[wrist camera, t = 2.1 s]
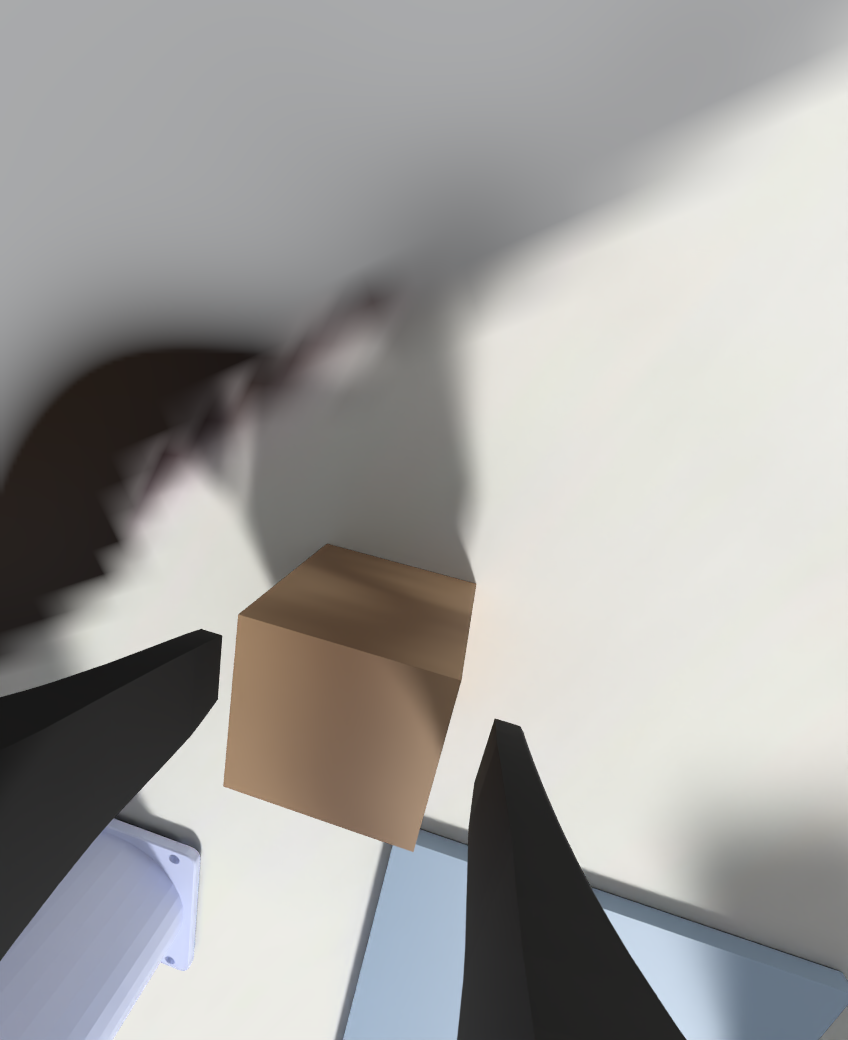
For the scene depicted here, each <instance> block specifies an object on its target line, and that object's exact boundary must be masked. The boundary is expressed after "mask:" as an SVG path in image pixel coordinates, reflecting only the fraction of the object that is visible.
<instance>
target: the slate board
mask: <svg viewBox="0 0 848 1040" xmlns="http://www.w3.org/2000/svg"><path fill="white" fill-rule="evenodd" d="M467 861H468V845H465V844H462V843H459V842H456V841H453V840H450V839H447V838H444V837H441V836H438V835H435V834H432V833H429V832H426V831H423V830H419V834H418V838H417V841H416V845H415V848H414V852H411V851H408V850H405V849H403V848H400V847H397V846H394V845H393V846H392V850H391V854H390V858H389V862H388V866H387V870H386V873H385V877H384V881H383V885H382V889H381V893H380V897H379V901H378V905H377V909H376V913H375V916H374V920H373V924H372V928H371V932H370V936H369V940H368V944H367V948H366V952H365V955H364V959H363V963H362V967H361V971H360V975H359V979H358V983H357V987H356V991H355V995H354V998H353V1002H352V1006H351V1010H350V1014H349V1018H348V1022H347V1026H346V1030H345V1034H344V1037H343V1040H457V1035H458V1025H459V1015H460V1005H461V995H462V986H463V974H464V957H465V931H466V896H467ZM591 888H592V887H591ZM592 890H593V892H594V894H595V895H596V897H597V899H598V901H599V902H600V904H601V906H602V908H603V910H604V911H605V913H606V915H607V917H608V918H609V920H610V922H611V924H612V925H613V927H614V929H615V930H616V932H617V934H618V935H619V937H620V939H621V940H622V942H623V944H624V945H625V947H626V949H627V950H628V952H629V954H630V955H631V957H632V958H633V960H634V961H635V963H636V964H637V966H638V967H639V969H640V971H641V972H642V974H643V975H644V977H645V978H646V980H647V981H648V983H649V984H650V986H651V987H652V989H653V990H654V992H655V993H656V995H657V996H658V998H659V1000H660V1001H661V1003H662V1004H663V1006H664V1007H665V1009H666V1010H667V1012H668V1013H669V1015H670V1016H671V1018H672V1019H673V1021H674V1022H675V1024H676V1025H677V1027H678V1028H679V1030H680V1031H681V1032H682V1034H683V1035H684V1037H685V1038H686V1039H687V1040H819V1039H820V1038H821V1036H822V1035H823V1034H824V1033H825V1032H826V1030H827V1029H828V1028H829V1027H830V1026H831V1024H832V1023H833V1022H834V1021H835V1020H836V1018H837V1017H838V1016H839V1015H840V1014H841V1012H842V1011H843V1010H844V1009H845V1008H846V1006H847V1005H848V981H847V980H846V978H845V976H844V975H843V973H842V972H840V971H837V970H834V969H831V968H828V967H825V966H822V965H819V964H816V963H813V962H810V961H807V960H804V959H801V958H798V957H795V956H792V955H789V954H786V953H783V952H780V951H778V950H775V949H772V948H769V947H766V946H763V945H760V944H757V943H754V942H751V941H748V940H745V939H742V938H739V937H736V936H733V935H730V934H727V933H724V932H721V931H718V930H716V929H713V928H710V927H707V926H704V925H701V924H698V923H695V922H692V921H689V920H686V919H683V918H680V917H677V916H674V915H671V914H668V913H665V912H662V911H659V910H657V909H654V908H651V907H648V906H645V905H642V904H639V903H636V902H633V901H630V900H627V899H624V898H621V897H618V896H615V895H612V894H609V893H606V892H603V891H600V890H597V889H595V888H592Z"/></svg>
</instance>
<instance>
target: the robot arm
mask: <svg viewBox="0 0 848 1040" xmlns="http://www.w3.org/2000/svg"><path fill="white" fill-rule="evenodd" d="M221 646H222V635H219V634H216V633H212V632H209V631H206V630H203V629H200V630H197V631H194V632H191V633H188V634H185V635H182V636H179V637H177V638H174V639H171V640H169V641H166V642H163V643H161V644H158V645H156V646H153V647H150V648H148V649H145V650H142V651H140V652H137V653H134V654H132V655H129V656H126V657H124V658H121V659H118V660H116V661H113V662H110V663H108V664H105V665H102V666H99V667H96V668H93V669H90V670H87V671H84V672H81V673H78V674H75V675H73V676H70V677H67V678H64V679H61V680H58V681H55V682H52V683H49V684H45V685H42V686H39V687H36V688H32V689H29V690H25V691H22V692H18V693H15V694H11V695H7V696H4V697H0V1040H113V1039H114V1037H115V1035H116V1034H117V1032H118V1031H119V1029H120V1027H121V1026H122V1024H123V1022H124V1021H125V1019H126V1018H127V1016H128V1014H129V1013H130V1011H131V1009H132V1008H133V1006H134V1004H135V1003H136V1001H137V1000H138V998H139V996H140V995H141V993H142V991H143V990H144V988H145V987H146V985H147V983H148V982H149V980H150V978H151V977H152V975H153V973H154V972H155V970H156V969H157V967H158V965H159V964H160V962H161V963H163V964H166V965H168V966H171V967H173V968H176V969H178V970H182V971H185V970H187V969H189V967H190V965H191V963H192V961H193V959H194V945H195V931H196V916H197V901H198V887H199V872H200V854H199V853H198V851H197V850H196V849H195V848H193V847H191V846H188V845H185V844H182V843H180V842H177V841H174V840H171V839H169V838H166V837H163V836H160V835H158V834H155V833H152V832H150V831H147V830H144V829H141V828H139V827H136V826H133V825H130V824H128V823H125V822H122V821H120V820H117V819H114V817H115V816H116V815H117V814H118V813H119V812H120V811H121V810H122V809H123V808H124V807H125V806H126V805H127V804H128V803H129V801H130V800H131V799H132V798H133V797H134V796H135V795H136V794H137V793H138V792H139V791H140V790H141V789H142V788H143V787H144V786H145V784H146V783H147V782H148V781H149V780H150V779H151V778H152V777H153V776H154V775H155V774H156V773H157V772H158V771H159V770H160V769H161V767H162V766H163V765H164V764H165V763H166V762H167V761H168V760H169V759H170V758H171V757H172V756H173V755H174V754H175V752H176V751H177V750H178V749H179V748H180V747H181V746H182V745H183V744H184V743H185V742H186V740H187V739H188V738H189V737H190V736H191V735H192V734H193V732H194V731H195V730H196V728H197V727H198V726H199V724H200V723H201V722H202V721H203V719H204V718H205V716H206V715H207V714H208V712H209V711H210V709H211V708H212V707H213V705H214V704H215V703H216V701H217V700H218V689H219V674H220V660H221ZM457 1040H687V1039H686V1038H685V1037H684V1035H683V1034H682V1032H681V1031H680V1030H679V1028H678V1027H677V1025H676V1024H675V1022H674V1021H673V1019H672V1018H671V1016H670V1015H669V1013H668V1012H667V1010H666V1009H665V1007H664V1006H663V1004H662V1003H661V1001H660V1000H659V998H658V996H657V995H656V993H655V992H654V990H653V989H652V987H651V986H650V984H649V983H648V981H647V980H646V978H645V977H644V975H643V974H642V972H641V971H640V969H639V967H638V966H637V964H636V963H635V961H634V960H633V958H632V957H631V955H630V954H629V952H628V950H627V949H626V947H625V945H624V944H623V942H622V940H621V939H620V937H619V935H618V934H617V932H616V930H615V929H614V927H613V925H612V924H611V922H610V920H609V918H608V917H607V915H606V913H605V911H604V910H603V908H602V906H601V904H600V902H599V901H598V899H597V897H596V895H595V894H594V892H593V890H592V888H591V886H590V884H589V882H588V881H587V879H586V877H585V875H584V873H583V871H582V869H581V867H580V865H579V863H578V861H577V859H576V857H575V855H574V853H573V851H572V849H571V847H570V845H569V843H568V841H567V839H566V837H565V835H564V833H563V830H562V828H561V826H560V824H559V822H558V819H557V817H556V815H555V813H554V810H553V808H552V806H551V803H550V801H549V799H548V796H547V794H546V792H545V789H544V787H543V784H542V782H541V780H540V777H539V774H538V772H537V769H536V767H535V764H534V761H533V759H532V756H531V753H530V750H529V748H528V745H527V742H526V739H525V736H524V733H523V730H522V729H521V727H520V726H518V725H514V724H511V723H508V722H505V721H501V720H498V719H495V720H494V723H493V726H492V729H491V732H490V735H489V739H488V742H487V745H486V748H485V751H484V754H483V757H482V761H481V764H480V767H479V770H478V773H477V776H476V779H475V783H474V790H473V798H472V805H471V813H470V821H469V831H468V861H467V896H466V931H465V957H464V974H463V986H462V995H461V1005H460V1015H459V1025H458V1035H457Z"/></svg>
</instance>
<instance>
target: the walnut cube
mask: <svg viewBox="0 0 848 1040" xmlns="http://www.w3.org/2000/svg"><path fill="white" fill-rule="evenodd" d="M475 589H476V584H475V583H471V582H468V581H464V580H460V579H457V578H453V577H449V576H445V575H442V574H438V573H434V572H431V571H427V570H423V569H419V568H416V567H412V566H408V565H404V564H401V563H397V562H393V561H390V560H386V559H382V558H378V557H375V556H371V555H367V554H363V553H360V552H356V551H352V550H349V549H345V548H341V547H337V546H334V545H330V544H326V545H325V546H323V547H322V548H321V549H320V550H318V551H317V552H316V553H315V554H313V555H312V556H311V557H310V558H308V559H307V560H306V561H305V562H303V563H302V564H301V565H300V566H298V567H297V568H296V569H295V570H293V571H292V572H291V573H290V574H288V575H287V576H286V577H285V578H283V579H282V580H281V581H280V582H278V583H277V584H276V585H275V586H273V587H272V588H271V589H270V590H268V591H267V592H266V593H265V594H263V595H262V596H261V597H260V598H258V599H257V600H256V601H255V602H253V603H252V604H251V605H250V606H248V607H247V608H246V609H245V610H243V611H242V612H241V613H240V614H238V624H237V635H236V647H235V658H234V670H233V681H232V693H231V704H230V716H229V727H228V739H227V750H226V762H225V773H224V785H223V786H224V787H227V788H230V789H233V790H235V791H238V792H241V793H244V794H247V795H250V796H253V797H256V798H258V799H261V800H264V801H267V802H270V803H273V804H276V805H279V806H282V807H284V808H287V809H290V810H293V811H296V812H299V813H302V814H305V815H307V816H310V817H313V818H316V819H319V820H322V821H325V822H328V823H330V824H333V825H336V826H339V827H342V828H345V829H348V830H351V831H354V832H356V833H359V834H362V835H365V836H368V837H371V838H374V839H377V840H379V841H382V842H385V843H388V844H391V845H394V846H397V847H400V848H403V849H405V850H408V851H411V852H414V848H415V845H416V841H417V838H418V834H419V830H420V827H421V823H422V820H423V816H424V812H425V809H426V805H427V802H428V798H429V794H430V791H431V787H432V784H433V780H434V777H435V773H436V769H437V766H438V762H439V759H440V755H441V751H442V748H443V744H444V741H445V737H446V733H447V730H448V726H449V723H450V719H451V716H452V712H453V708H454V705H455V701H456V698H457V694H458V690H459V687H460V683H461V679H462V673H463V666H464V660H465V653H466V647H467V640H468V634H469V627H470V621H471V615H472V608H473V602H474V595H475Z"/></svg>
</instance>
